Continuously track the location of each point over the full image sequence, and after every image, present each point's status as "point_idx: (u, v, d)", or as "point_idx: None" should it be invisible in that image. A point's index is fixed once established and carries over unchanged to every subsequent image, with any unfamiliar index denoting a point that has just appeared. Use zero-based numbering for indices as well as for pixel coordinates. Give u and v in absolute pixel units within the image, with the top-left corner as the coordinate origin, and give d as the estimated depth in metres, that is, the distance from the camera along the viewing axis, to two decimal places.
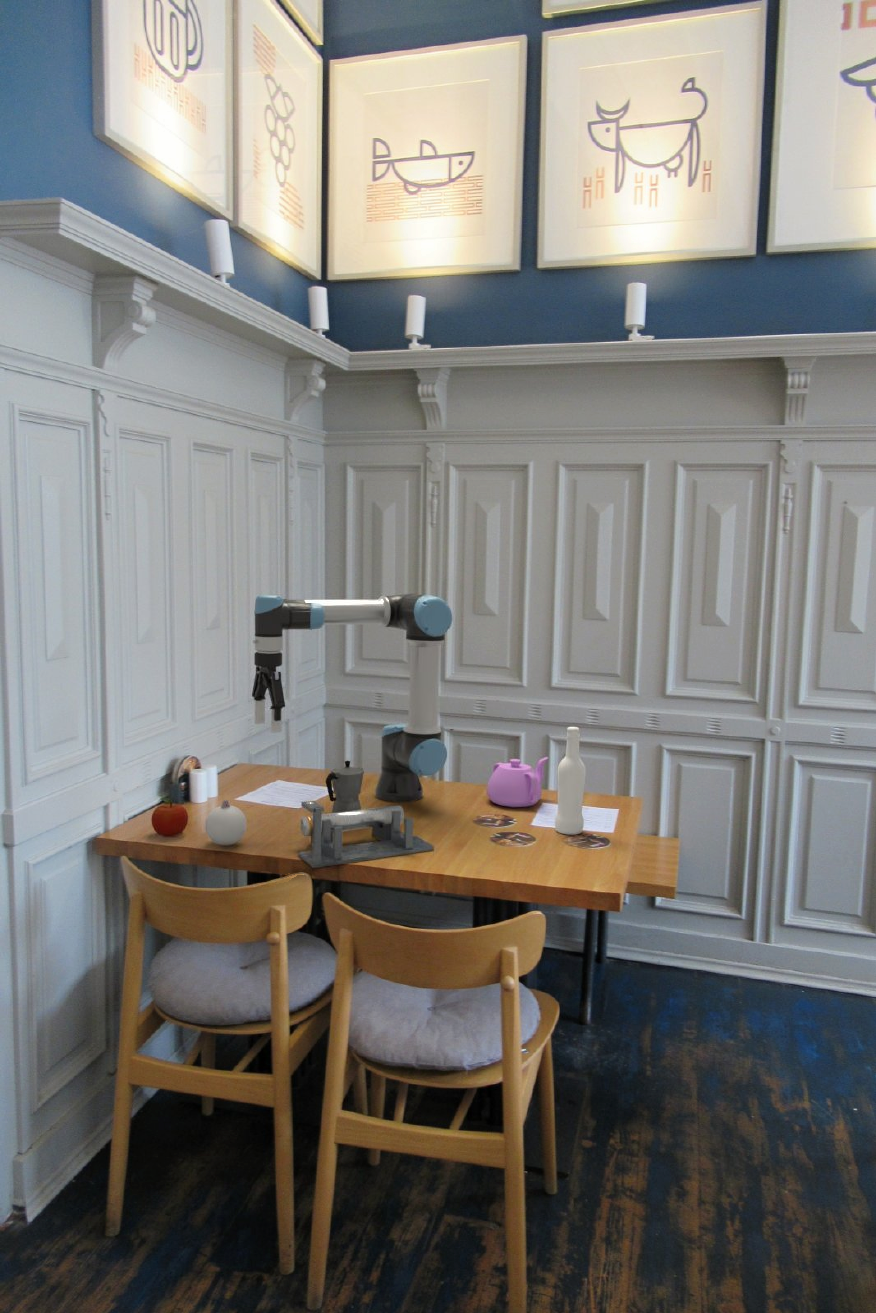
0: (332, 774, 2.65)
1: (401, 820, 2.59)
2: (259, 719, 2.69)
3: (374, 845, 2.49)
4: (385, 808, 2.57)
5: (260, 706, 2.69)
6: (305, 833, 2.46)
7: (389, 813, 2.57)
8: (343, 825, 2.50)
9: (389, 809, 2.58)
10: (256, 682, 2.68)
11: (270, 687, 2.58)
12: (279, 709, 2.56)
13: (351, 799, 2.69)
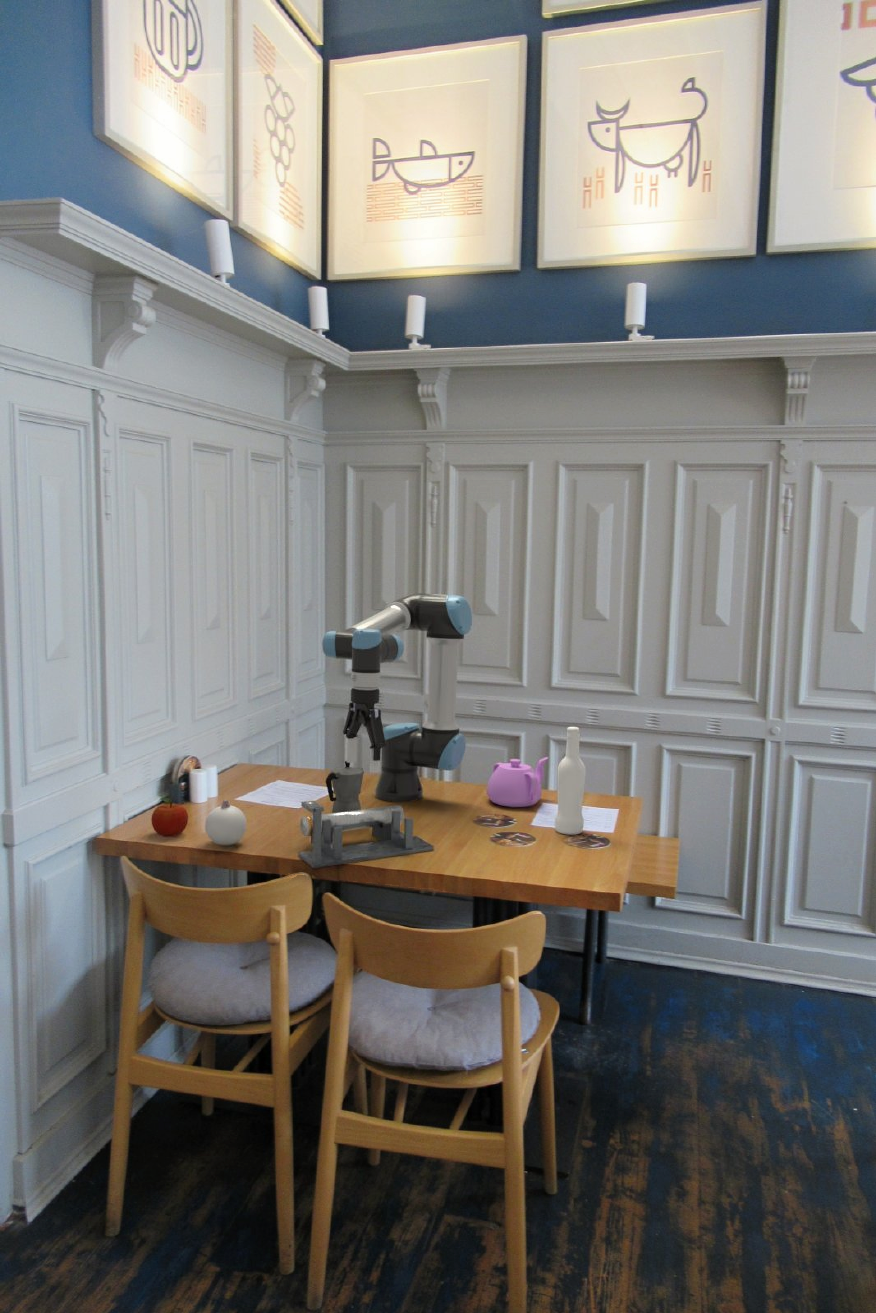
0: (332, 774, 2.65)
1: (401, 820, 2.59)
2: (351, 757, 2.57)
3: (374, 845, 2.49)
4: (385, 808, 2.57)
5: (353, 744, 2.57)
6: (305, 833, 2.46)
7: (389, 813, 2.57)
8: (343, 825, 2.50)
9: (389, 809, 2.58)
10: (349, 719, 2.56)
11: (368, 725, 2.47)
12: (379, 748, 2.45)
13: (351, 799, 2.69)
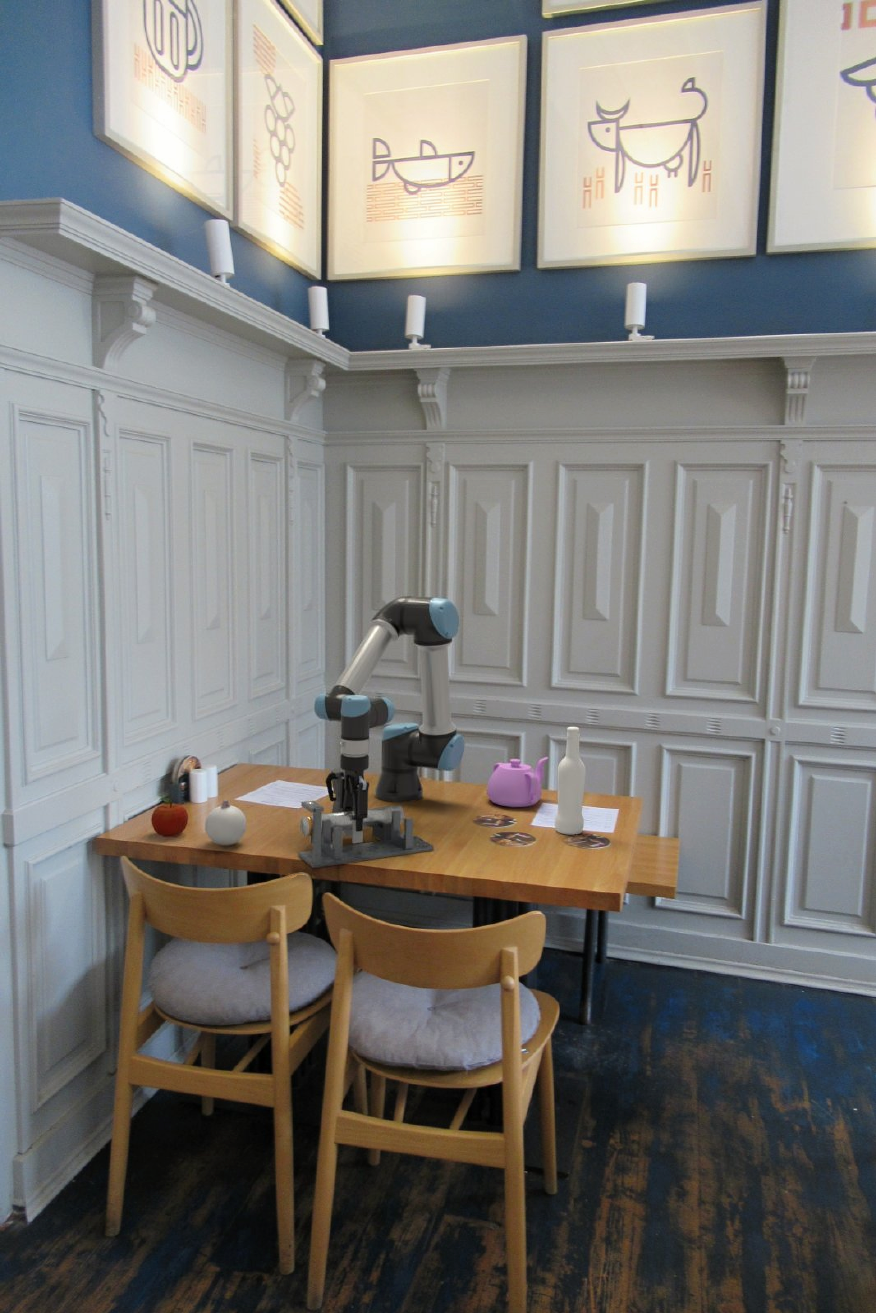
0: (332, 774, 2.65)
1: (401, 820, 2.59)
2: (348, 832, 2.56)
3: (374, 845, 2.49)
4: (385, 808, 2.57)
5: None
6: (305, 833, 2.46)
7: (389, 813, 2.57)
8: (343, 825, 2.50)
9: (389, 809, 2.58)
10: (342, 789, 2.57)
11: (355, 795, 2.50)
12: (361, 820, 2.50)
13: None
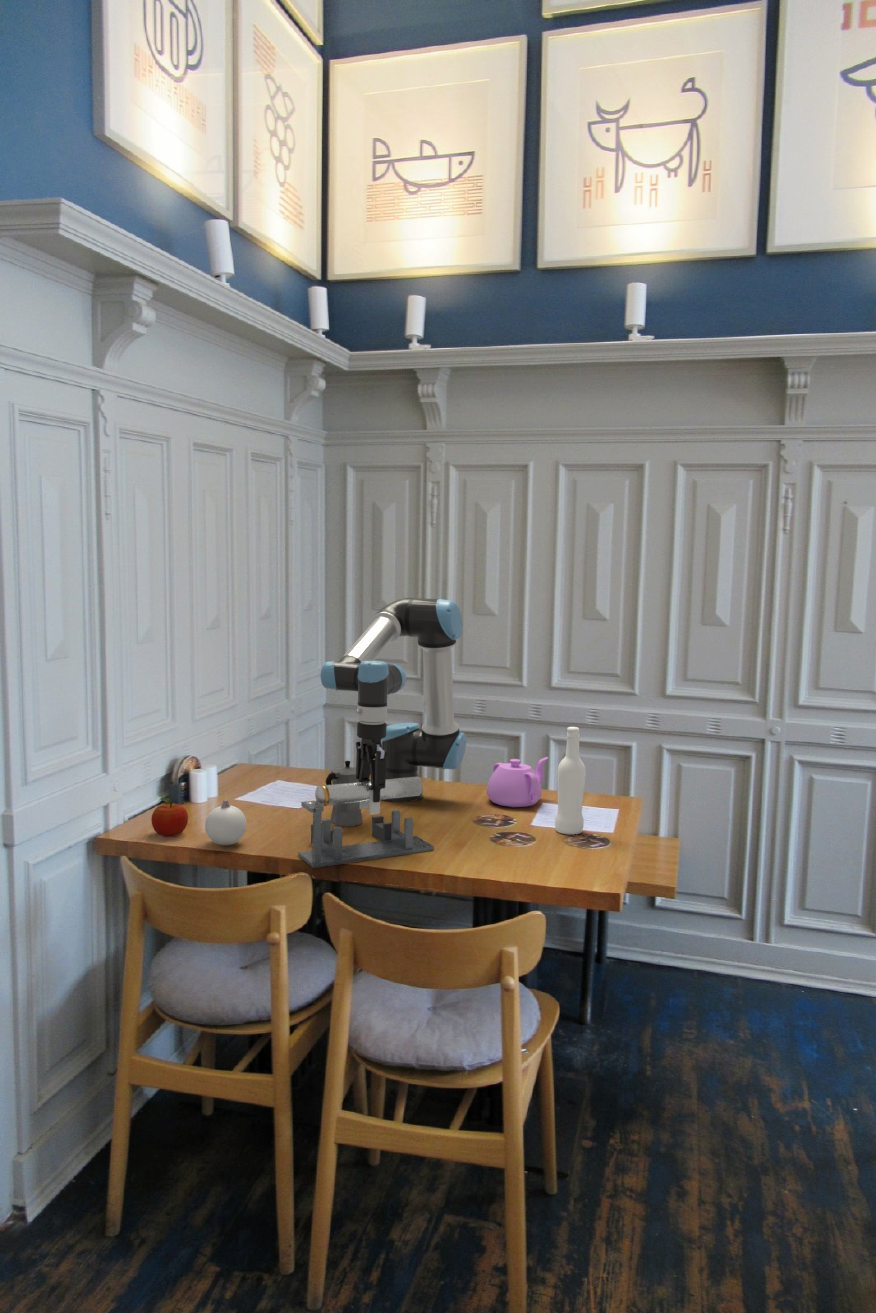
0: (332, 774, 2.65)
1: (419, 792, 2.49)
2: (364, 804, 2.46)
3: (374, 845, 2.49)
4: (403, 779, 2.47)
5: None
6: (320, 803, 2.36)
7: (407, 784, 2.47)
8: (360, 796, 2.40)
9: (407, 780, 2.48)
10: (359, 760, 2.47)
11: (372, 764, 2.40)
12: (378, 790, 2.40)
13: None
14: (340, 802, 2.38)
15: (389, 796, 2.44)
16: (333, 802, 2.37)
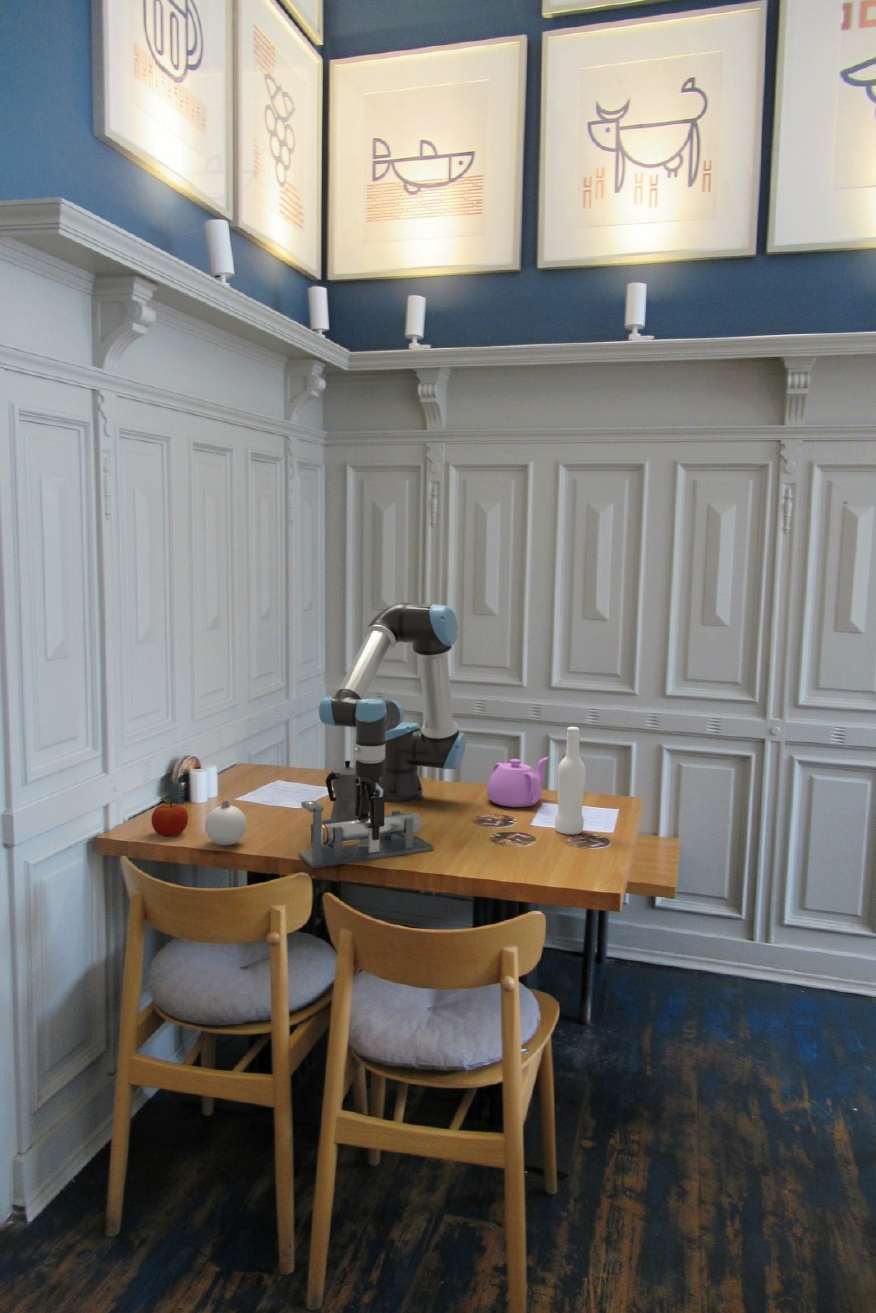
0: (332, 774, 2.65)
1: (418, 828, 2.50)
2: (363, 840, 2.48)
3: None
4: (402, 815, 2.49)
5: None
6: None
7: None
8: (359, 834, 2.41)
9: (406, 816, 2.49)
10: (358, 796, 2.48)
11: (371, 802, 2.41)
12: (378, 828, 2.41)
13: (351, 799, 2.69)
14: None
15: (388, 833, 2.46)
16: (332, 841, 2.38)
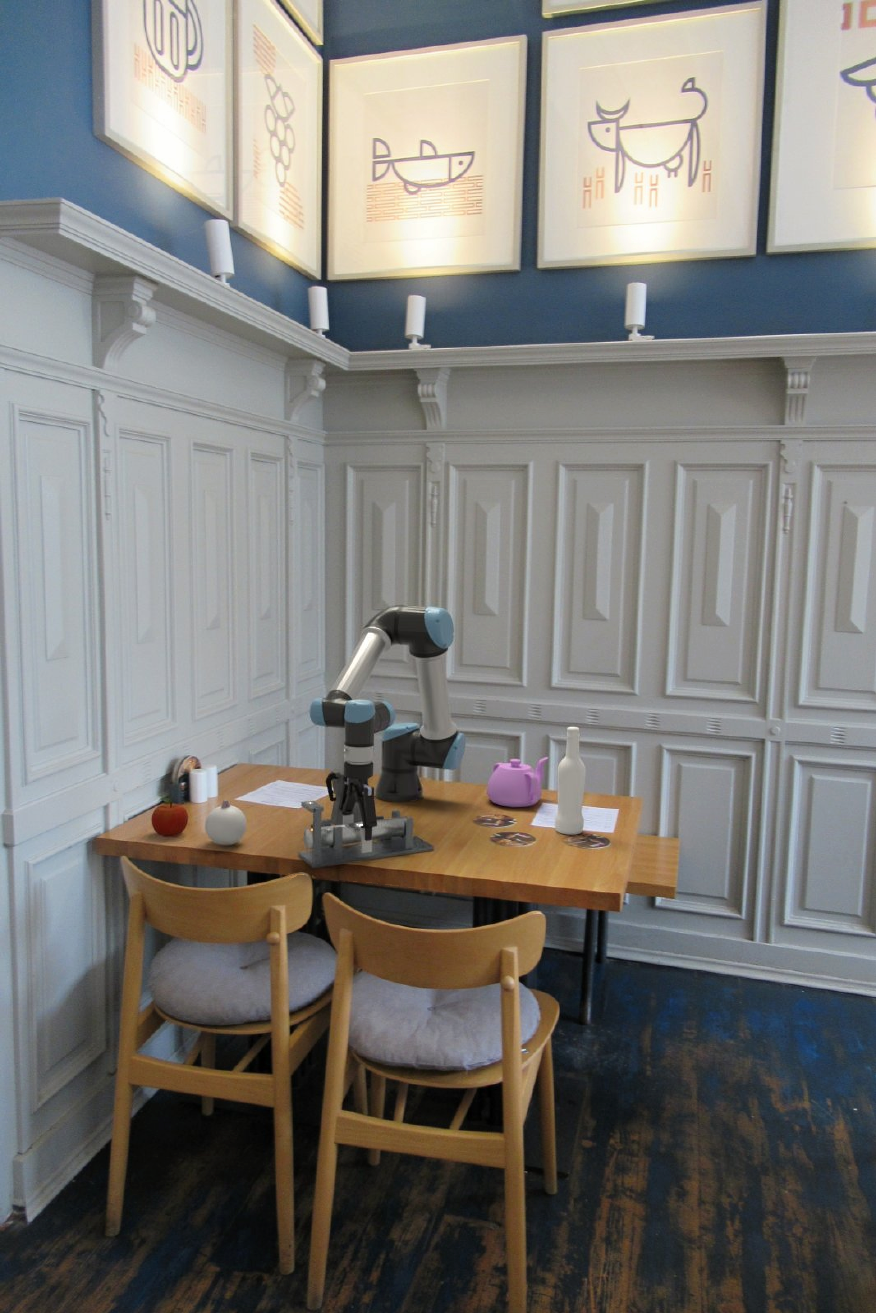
0: (332, 774, 2.65)
1: None
2: None
3: (374, 845, 2.49)
4: (392, 820, 2.47)
5: (349, 821, 2.48)
6: (308, 846, 2.36)
7: (396, 826, 2.46)
8: (348, 839, 2.39)
9: (397, 821, 2.47)
10: (344, 794, 2.47)
11: (361, 802, 2.39)
12: (370, 828, 2.37)
13: None
14: (328, 845, 2.37)
15: (377, 838, 2.44)
16: (321, 846, 2.36)
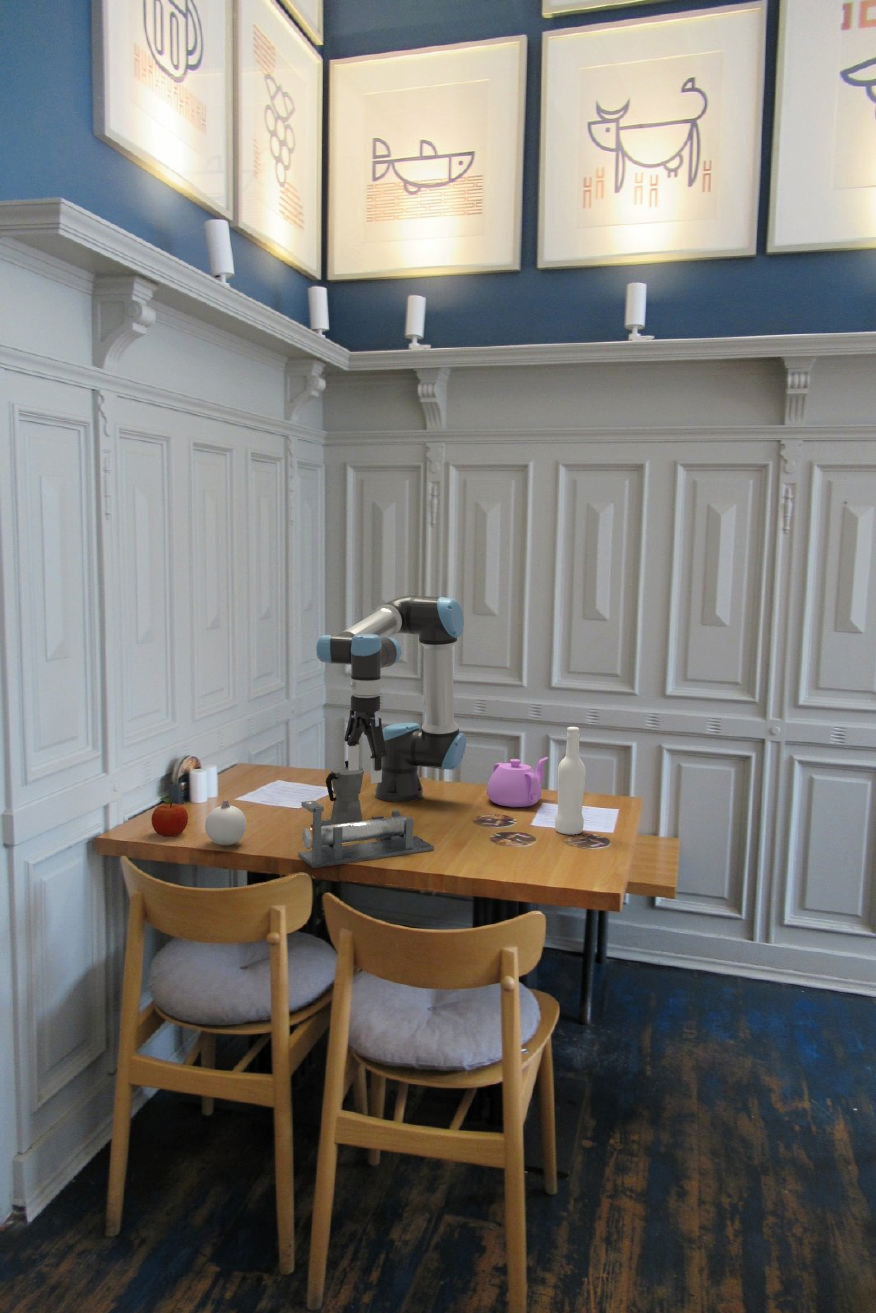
0: (332, 774, 2.65)
1: None
2: (353, 765, 2.51)
3: (374, 845, 2.49)
4: (390, 818, 2.48)
5: (354, 752, 2.50)
6: (308, 845, 2.36)
7: (395, 823, 2.47)
8: (347, 836, 2.40)
9: (394, 819, 2.48)
10: (350, 726, 2.49)
11: (369, 734, 2.39)
12: (380, 758, 2.37)
13: (351, 799, 2.69)
14: (327, 843, 2.38)
15: (377, 835, 2.44)
16: None
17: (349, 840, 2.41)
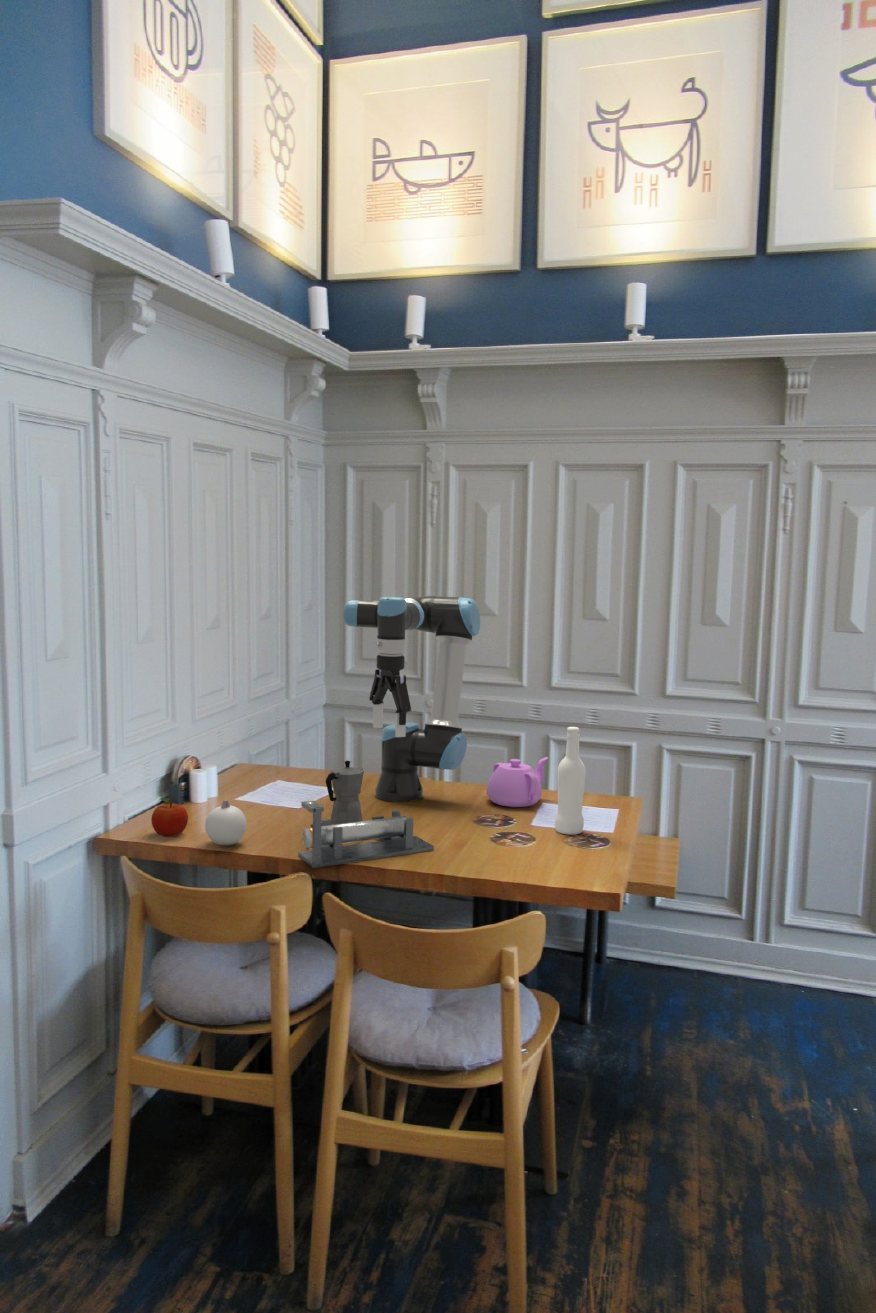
0: (332, 774, 2.65)
1: None
2: (377, 723, 2.64)
3: (374, 845, 2.49)
4: (390, 818, 2.48)
5: (379, 710, 2.63)
6: (308, 845, 2.36)
7: (395, 823, 2.47)
8: (347, 836, 2.40)
9: (395, 819, 2.48)
10: (375, 685, 2.63)
11: (394, 691, 2.53)
12: (404, 713, 2.50)
13: (351, 799, 2.69)
14: (327, 843, 2.38)
15: (377, 836, 2.44)
16: None
17: (349, 840, 2.40)
